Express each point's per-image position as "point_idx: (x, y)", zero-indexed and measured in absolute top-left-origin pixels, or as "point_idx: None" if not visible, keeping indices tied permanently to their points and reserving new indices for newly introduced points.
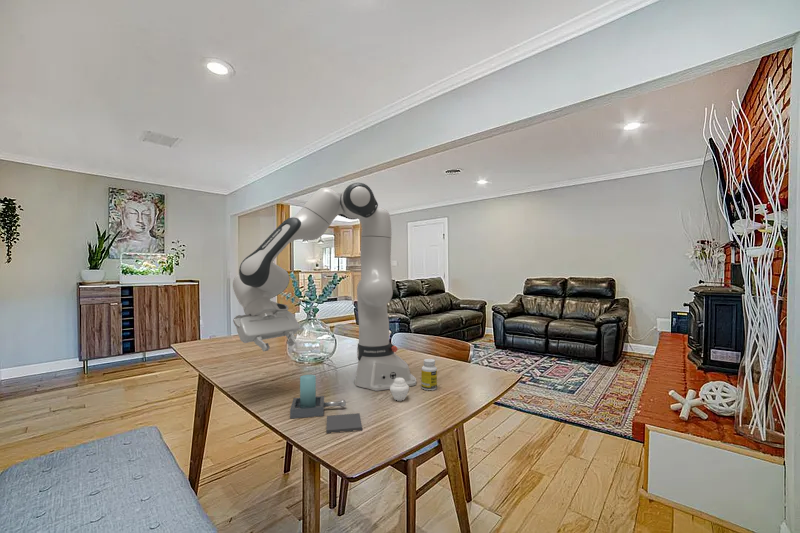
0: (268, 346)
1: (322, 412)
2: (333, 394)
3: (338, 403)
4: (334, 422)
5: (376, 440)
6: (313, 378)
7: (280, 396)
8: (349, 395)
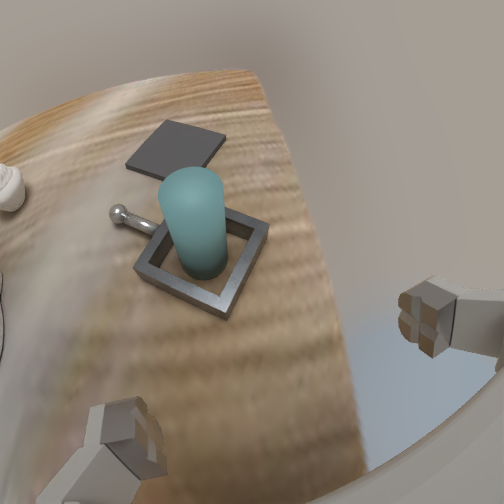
0: (416, 291)
1: None
2: (77, 336)
3: (129, 212)
4: (193, 152)
5: (173, 98)
6: (181, 170)
7: (235, 443)
8: (53, 294)
